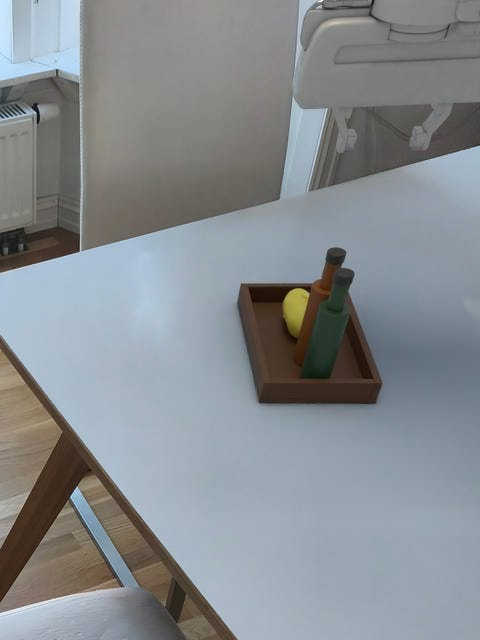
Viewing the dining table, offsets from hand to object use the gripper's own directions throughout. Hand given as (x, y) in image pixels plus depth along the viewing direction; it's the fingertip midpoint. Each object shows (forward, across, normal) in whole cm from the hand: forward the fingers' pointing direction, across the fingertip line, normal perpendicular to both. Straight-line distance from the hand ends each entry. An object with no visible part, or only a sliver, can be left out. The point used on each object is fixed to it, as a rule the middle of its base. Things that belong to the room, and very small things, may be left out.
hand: (380, 149), depth 91 cm
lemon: (+19, -5, -2) cm, 20 cm away
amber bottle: (+19, -5, -9) cm, 22 cm away
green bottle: (+19, -5, -13) cm, 24 cm away
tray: (+20, -5, -6) cm, 21 cm away
